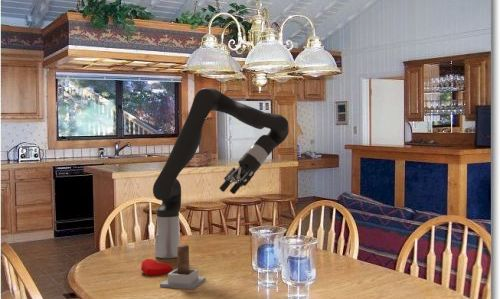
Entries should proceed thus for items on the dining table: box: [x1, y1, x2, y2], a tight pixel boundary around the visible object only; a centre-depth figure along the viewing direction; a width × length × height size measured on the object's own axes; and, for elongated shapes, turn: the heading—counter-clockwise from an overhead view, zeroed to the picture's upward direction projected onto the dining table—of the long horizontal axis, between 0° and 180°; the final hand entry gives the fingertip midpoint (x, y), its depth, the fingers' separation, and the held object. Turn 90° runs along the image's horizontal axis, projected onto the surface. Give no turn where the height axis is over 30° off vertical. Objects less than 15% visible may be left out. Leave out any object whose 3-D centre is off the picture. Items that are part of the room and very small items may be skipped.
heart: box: [140, 258, 173, 277], centre depth 204 cm, size 12×4×10 cm
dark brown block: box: [176, 244, 190, 275], centre depth 190 cm, size 4×4×12 cm
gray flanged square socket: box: [159, 267, 207, 290], centre depth 190 cm, size 12×12×4 cm
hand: (226, 191), depth 200 cm, fingers open, 8 cm apart
